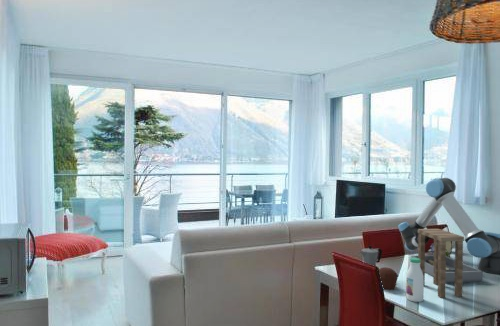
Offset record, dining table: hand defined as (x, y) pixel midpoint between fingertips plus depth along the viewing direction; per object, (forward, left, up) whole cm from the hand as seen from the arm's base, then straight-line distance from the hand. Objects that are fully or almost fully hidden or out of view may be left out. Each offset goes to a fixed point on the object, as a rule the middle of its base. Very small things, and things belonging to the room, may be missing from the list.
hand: (437, 229), depth 236 cm
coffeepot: (+42, +19, -25) cm, 53 cm away
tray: (-2, +7, -25) cm, 26 cm away
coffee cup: (-21, -48, -25) cm, 58 cm away
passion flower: (-12, -34, -25) cm, 44 cm away
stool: (+11, +38, -25) cm, 47 cm away
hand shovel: (-2, +7, -23) cm, 24 cm away
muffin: (+37, +37, -25) cm, 58 cm away
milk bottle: (+27, +53, -25) cm, 65 cm away
